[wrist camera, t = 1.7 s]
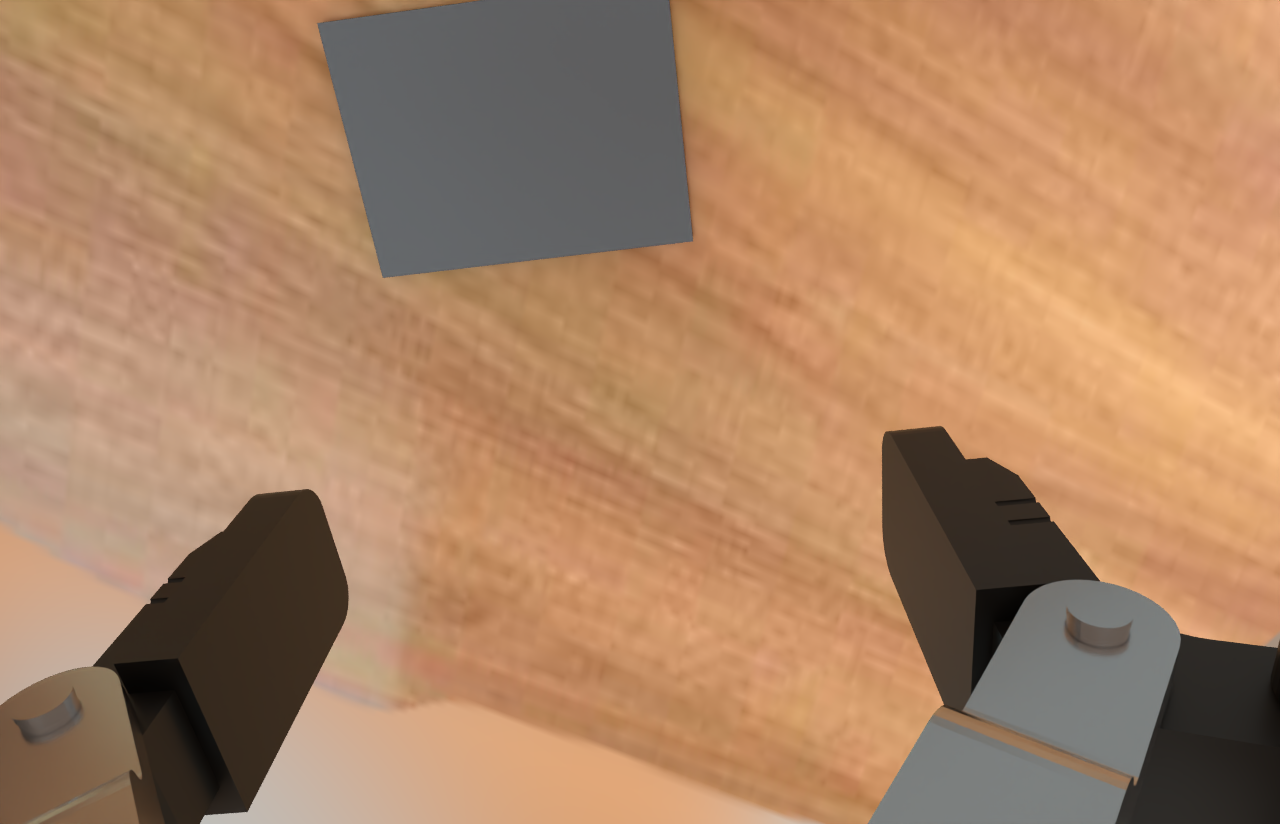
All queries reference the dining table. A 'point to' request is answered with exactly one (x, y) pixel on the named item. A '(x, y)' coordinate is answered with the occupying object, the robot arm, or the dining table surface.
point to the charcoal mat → (512, 130)
